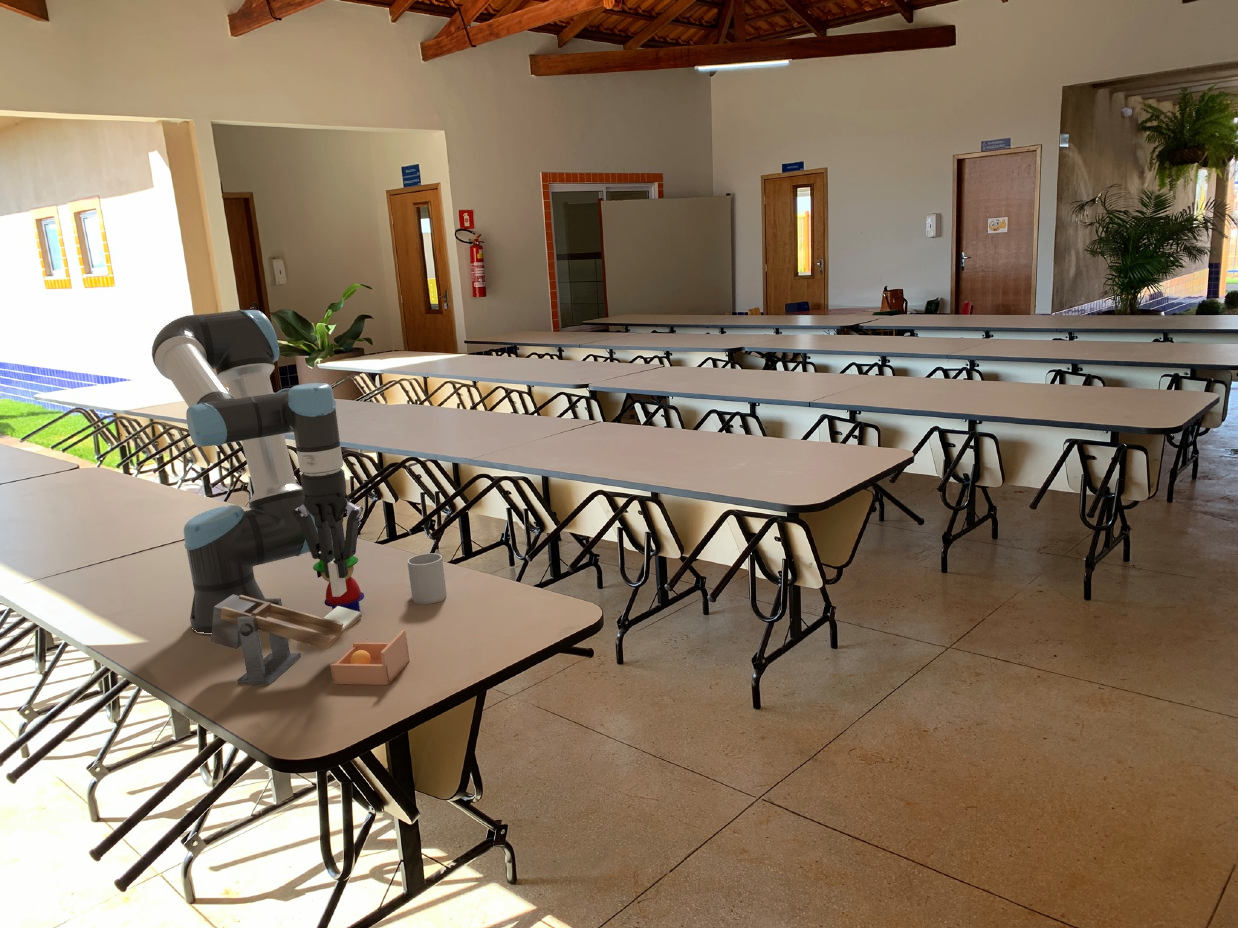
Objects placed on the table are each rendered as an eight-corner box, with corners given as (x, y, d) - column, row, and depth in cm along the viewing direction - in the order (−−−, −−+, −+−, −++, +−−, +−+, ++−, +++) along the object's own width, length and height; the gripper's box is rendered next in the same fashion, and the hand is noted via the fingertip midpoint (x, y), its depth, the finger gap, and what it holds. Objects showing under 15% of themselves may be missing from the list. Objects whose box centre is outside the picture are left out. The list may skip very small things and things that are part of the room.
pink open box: (333, 683, 157) (328, 651, 156) (357, 659, 166) (352, 629, 164) (388, 684, 155) (383, 652, 154) (409, 660, 164) (405, 629, 163)
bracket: (237, 684, 159) (226, 620, 157) (271, 656, 170) (261, 596, 167) (268, 684, 158) (257, 620, 156) (300, 656, 169) (291, 596, 166)
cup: (422, 607, 189) (417, 567, 187) (400, 596, 196) (395, 557, 194) (453, 597, 193) (448, 557, 191) (430, 586, 201) (425, 548, 199)
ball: (367, 660, 158) (362, 676, 159) (376, 651, 161) (371, 667, 162) (349, 652, 158) (344, 669, 159) (358, 643, 162) (353, 660, 163)
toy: (333, 628, 181) (322, 557, 178) (314, 617, 188) (303, 548, 184) (373, 613, 187) (363, 544, 184) (354, 604, 193) (344, 537, 190)
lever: (209, 642, 161) (212, 604, 159) (254, 611, 175) (258, 574, 173) (321, 675, 159) (326, 636, 156) (358, 640, 172) (363, 604, 170)
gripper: (277, 476, 160) (297, 601, 166) (346, 475, 157) (363, 602, 163) (299, 465, 167) (317, 585, 173) (365, 464, 165) (381, 586, 170)
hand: (339, 593), depth 168 cm, fingers closed
